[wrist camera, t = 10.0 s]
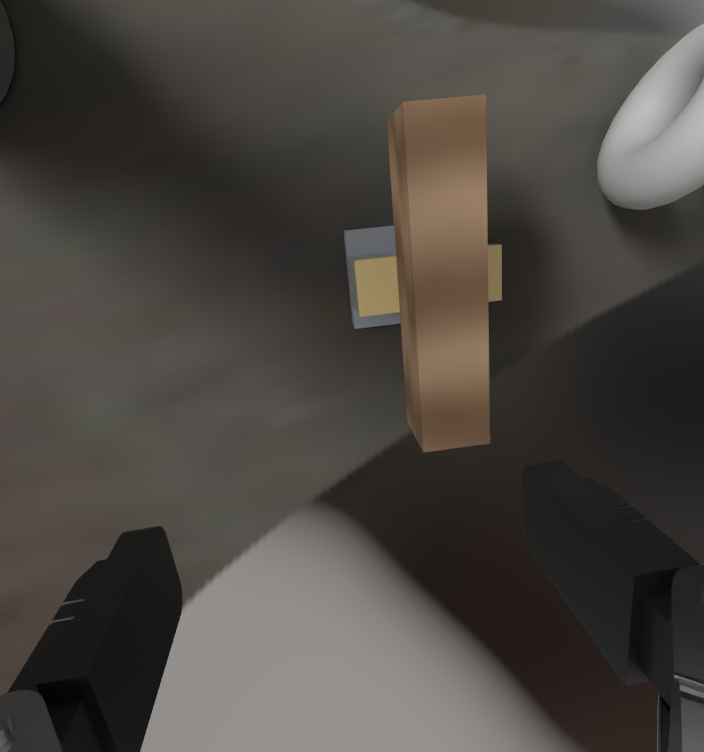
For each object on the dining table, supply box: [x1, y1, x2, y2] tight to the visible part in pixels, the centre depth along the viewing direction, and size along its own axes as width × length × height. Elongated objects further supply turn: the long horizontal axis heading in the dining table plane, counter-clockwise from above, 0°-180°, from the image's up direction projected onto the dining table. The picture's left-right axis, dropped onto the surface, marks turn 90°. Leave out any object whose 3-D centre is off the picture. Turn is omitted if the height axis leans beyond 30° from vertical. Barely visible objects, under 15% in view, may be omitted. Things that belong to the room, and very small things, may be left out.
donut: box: [597, 23, 704, 210], centre depth 25 cm, size 10×4×10 cm, turn 154°
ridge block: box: [344, 225, 502, 329], centre depth 28 cm, size 6×8×6 cm
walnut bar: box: [387, 95, 490, 452], centre depth 24 cm, size 16×4×4 cm, turn 6°
